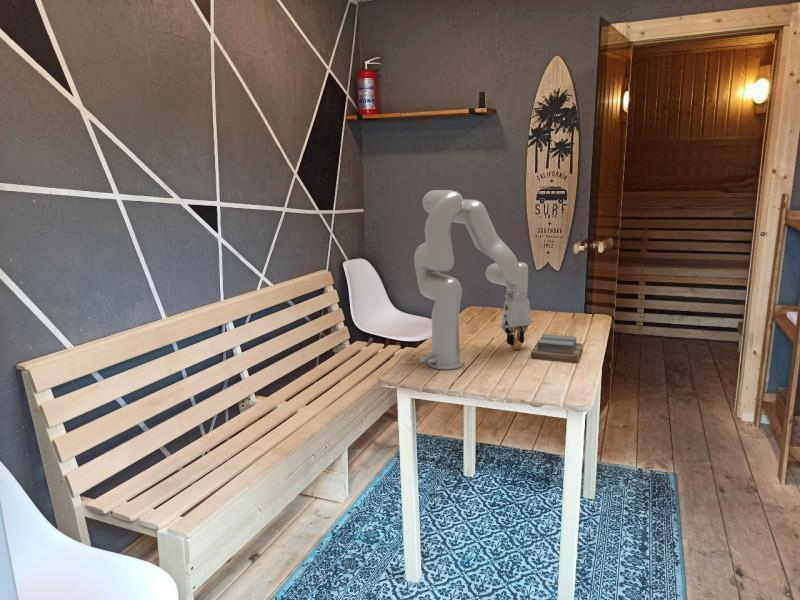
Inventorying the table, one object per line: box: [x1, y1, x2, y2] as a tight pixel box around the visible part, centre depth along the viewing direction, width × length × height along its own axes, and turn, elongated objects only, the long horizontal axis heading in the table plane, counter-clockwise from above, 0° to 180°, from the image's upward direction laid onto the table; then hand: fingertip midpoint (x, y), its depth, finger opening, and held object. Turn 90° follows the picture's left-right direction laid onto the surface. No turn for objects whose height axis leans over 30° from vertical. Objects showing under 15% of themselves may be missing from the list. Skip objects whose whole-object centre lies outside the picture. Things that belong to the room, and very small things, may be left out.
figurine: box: [510, 325, 529, 351], centre depth 212 cm, size 8×6×12 cm
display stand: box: [530, 333, 583, 364], centre depth 205 cm, size 16×16×6 cm
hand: (515, 342), depth 212 cm, fingers closed on figurine, 4 cm apart
